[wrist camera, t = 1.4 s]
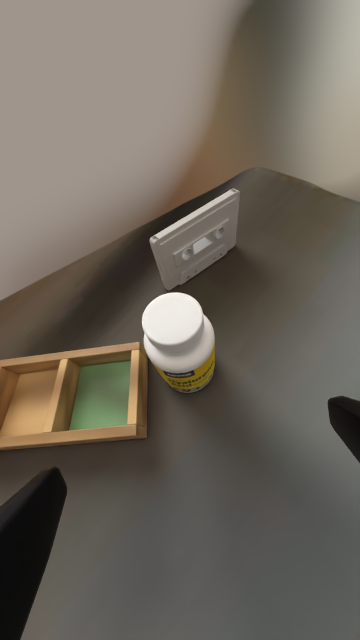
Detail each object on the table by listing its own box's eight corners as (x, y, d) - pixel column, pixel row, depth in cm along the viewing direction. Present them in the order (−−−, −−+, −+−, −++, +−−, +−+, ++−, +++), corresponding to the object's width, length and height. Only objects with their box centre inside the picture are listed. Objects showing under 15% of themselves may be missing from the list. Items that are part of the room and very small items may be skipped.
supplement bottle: (172, 403, 20) (141, 370, 12) (156, 354, 23) (122, 300, 15) (224, 381, 20) (229, 333, 12) (202, 335, 23) (193, 272, 15)
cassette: (170, 294, 27) (155, 245, 21) (162, 286, 28) (145, 236, 22) (238, 247, 30) (243, 190, 23) (228, 241, 31) (231, 185, 24)
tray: (146, 437, 19) (135, 435, 16) (-9, 451, 20) (-41, 451, 18) (148, 353, 23) (139, 341, 21) (19, 369, 25) (-3, 360, 22)
